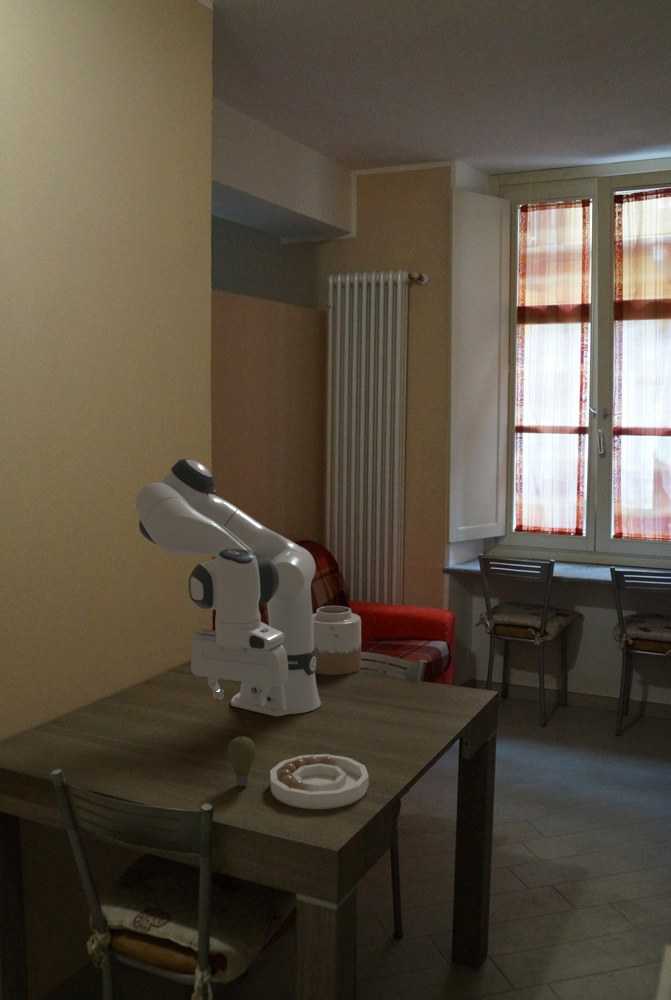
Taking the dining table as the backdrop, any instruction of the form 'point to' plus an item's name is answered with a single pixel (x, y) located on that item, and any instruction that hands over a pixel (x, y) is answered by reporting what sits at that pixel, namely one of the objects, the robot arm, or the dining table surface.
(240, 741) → the light bulb
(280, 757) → the dining table surface
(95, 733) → the dining table surface
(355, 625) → the vase
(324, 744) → the dining table surface
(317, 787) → the bead tray
